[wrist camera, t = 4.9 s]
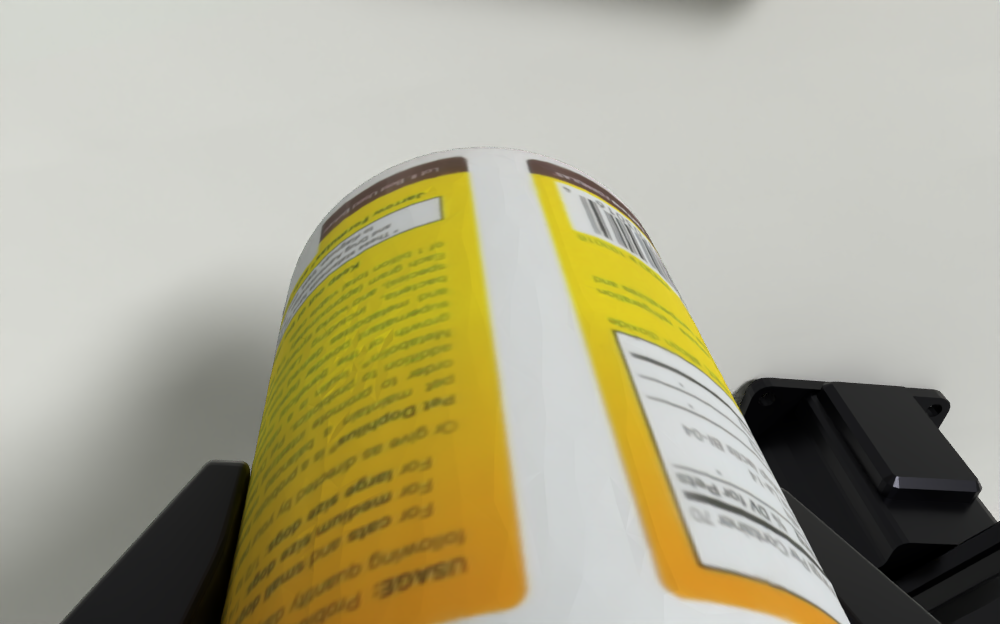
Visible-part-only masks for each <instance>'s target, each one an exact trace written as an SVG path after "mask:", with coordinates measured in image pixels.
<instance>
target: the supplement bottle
mask: <svg viewBox="0 0 1000 624" xmlns="http://www.w3.org/2000/svg"><path fill="white" fill-rule="evenodd" d="M220 624H850V622H849V620H848V618H847V616H846V614H845V612H844V610H843V608H842V606H841V605H840V603H839V600H838V598H837V596H836V593H835V591H834V589H833V586H832V584H831V582H830V581H829V579H828V578H827V576H826V575H825V573H824V572H823V570H822V568H821V566H820V564H819V562H818V560H817V558H816V556H815V554H814V552H813V550H812V548H811V546H810V544H809V542H808V540H807V538H806V536H805V535H804V533H803V531H802V529H801V527H800V525H799V523H798V521H797V519H796V517H795V516H794V514H793V512H792V510H791V508H790V506H789V504H788V502H787V500H786V498H785V496H784V495H783V493H782V491H781V489H780V487H779V485H778V483H777V481H776V479H775V477H774V475H773V473H772V471H771V469H770V468H769V466H768V464H767V462H766V460H765V458H764V456H763V454H762V452H761V450H760V448H759V446H758V444H757V443H756V441H755V439H754V437H753V435H752V433H751V431H750V429H749V427H748V425H747V423H746V421H745V419H744V417H743V415H742V413H741V411H740V409H739V407H738V406H737V404H736V402H735V400H734V398H733V396H732V394H731V392H730V390H729V389H728V387H727V385H726V383H725V381H724V379H723V377H722V375H721V373H720V371H719V370H718V368H717V366H716V364H715V362H714V360H713V358H712V356H711V355H710V353H709V351H708V349H707V347H706V345H705V343H704V341H703V339H702V337H701V335H700V333H699V331H698V329H697V327H696V325H695V323H694V321H693V320H692V318H691V316H690V314H689V311H688V309H687V307H686V305H685V303H684V301H683V300H682V298H681V296H680V294H679V292H678V290H677V289H676V287H675V285H674V283H673V281H672V279H671V277H670V275H669V274H668V271H667V269H666V268H665V266H664V264H663V262H662V260H661V258H660V256H659V254H658V252H657V251H656V249H655V247H654V245H653V243H652V241H651V240H650V238H649V236H648V234H647V233H646V231H645V230H644V228H643V227H642V225H641V223H640V222H639V220H638V219H637V218H636V217H635V215H634V214H633V213H632V212H631V210H630V209H629V208H628V207H627V206H626V205H625V204H624V203H623V202H622V201H621V200H620V199H619V198H618V197H617V196H616V195H615V194H614V193H613V192H611V191H610V190H609V189H608V188H607V187H605V186H604V185H602V184H601V183H600V182H598V181H597V180H595V179H593V178H592V177H590V176H589V175H587V174H586V173H584V172H583V171H581V170H579V169H577V168H574V167H572V166H570V165H568V164H566V163H563V162H561V161H558V160H556V159H553V158H550V157H547V156H543V155H540V154H537V153H532V152H528V151H523V150H516V149H509V148H498V147H472V148H458V149H452V150H446V151H441V152H435V153H431V154H427V155H423V156H420V157H416V158H414V159H411V160H409V161H406V162H404V163H401V164H399V165H396V166H393V167H391V168H389V169H387V170H385V171H383V172H381V173H380V174H378V175H376V176H374V177H372V178H371V179H369V180H368V181H366V182H365V183H363V184H362V185H360V186H359V187H357V188H356V189H355V190H353V191H352V192H351V193H349V194H348V195H347V196H345V197H344V198H343V199H342V200H341V201H340V202H339V203H338V204H337V205H336V206H335V207H334V208H333V209H332V210H331V211H330V212H329V213H328V214H327V215H326V216H325V218H324V219H323V220H322V221H321V223H320V224H319V225H318V226H317V228H316V229H315V231H314V232H313V234H312V235H311V237H310V239H309V240H308V242H307V243H306V245H305V247H304V249H303V251H302V253H301V255H300V257H299V259H298V262H297V265H296V267H295V270H294V273H293V276H292V278H291V282H290V286H289V291H288V295H287V299H286V304H285V308H284V311H283V317H282V322H281V327H280V332H279V337H278V342H277V348H276V353H275V358H274V363H273V368H272V373H271V377H270V382H269V387H268V392H267V397H266V403H265V408H264V412H263V417H262V422H261V427H260V431H259V436H258V442H257V447H256V452H255V457H254V460H253V464H252V470H251V476H250V481H249V486H248V491H247V496H246V500H245V505H244V510H243V515H242V520H241V525H240V530H239V535H238V540H237V544H236V549H235V554H234V558H233V563H232V569H231V574H230V578H229V583H228V588H227V594H226V599H225V604H224V608H223V612H222V616H221V623H220Z"/></svg>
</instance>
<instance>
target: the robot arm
mask: <svg viewBox="0 0 1000 624" xmlns="http://www.w3.org/2000/svg"><path fill="white" fill-rule="evenodd" d="M765 393H769V394H768V395H766V396H764V397H761V396H762V395H763V394H765ZM930 406H931V407H930ZM739 409H740V411H741V413H742V415H743V417H744V419H745V421H746V423H747V425H748V427H749V429H750V431H751V433H752V435H753V437H754V439H755V441H756V443H757V444H758V446H759V448H760V450H761V452H762V454H763V456H764V458H765V460H766V462H767V464H768V466H769V468H770V469H771V471H772V473H773V475H774V477H775V479H776V481H777V483H778V485H779V487H780V489H781V491H782V493H783V495H784V496H785V498H786V500H787V502H788V504H789V506H790V508H791V510H792V512H793V514H794V516H795V517H796V519H797V521H798V523H799V525H800V527H801V529H802V531H803V533H804V535H805V536H806V538H807V540H808V542H809V544H810V546H811V548H812V550H813V552H814V554H815V556H816V558H817V560H818V562H819V564H820V566H821V568H822V570H823V572H824V573H825V575H826V576H827V578H828V579H829V581H830V582H831V584H832V586H833V589H834V591H835V593H836V596H837V598H838V600H839V603H840V605H841V606H842V608H843V610H844V612H845V614H846V616H847V618H848V620H849V622H850V624H1000V521H999V522H997V521H996V520H995V518H994V517H993V516H992V515H991V513H990V512H989V511H988V509H987V508H986V507H985V505H984V504H983V503H982V502H981V500H980V499H979V498H978V495H979V493H980V492H981V490H982V487H981V484H980V482H979V481H978V479H977V477H976V476H975V475H974V473H973V472H972V471H971V470H970V468H969V467H968V466H967V465H966V463H965V462H964V461H963V460H962V458H961V457H960V456H959V454H958V453H957V452H956V451H955V449H954V448H953V447H952V446H951V444H950V443H949V442H948V440H947V439H946V438H945V437H944V435H943V434H942V433H941V432H940V430H939V429H938V428H939V427H940V425H941V423H942V422H943V420H944V418H945V417H946V415H947V413H948V412H949V409H950V402H949V401H948V400H947V399H946V398H945V396H944V395H943V394H942V393H941V392H940V391H937V390H932V389H918V388H905V387H901V386H887V385H873V384H860V383H846V382H822V381H808V380H794V379H780V378H761V379H758V380H756V381H754V382H753V383H752V384H750V386H749V387H748V389H747V390H746V393H745V395H744V398H743V400H742V402H741V405H740V407H739ZM249 481H250V467H249V465H248V464H247V463H246V462H243V461H226V460H212V461H209V462H208V463H206V464H205V465H204V466H203V467H202V468H201V469H200V471H199V472H198V473H197V474H196V475H195V476H194V477H193V478H192V479H191V480H190V482H189V483H188V484H187V485H186V486H185V487H184V488H183V489H182V490H181V491H180V492H179V494H178V495H177V496H176V497H175V498H174V499H173V500H172V501H171V502H170V503H169V505H168V506H167V507H166V508H165V509H164V510H163V511H162V512H161V513H160V514H159V515H158V517H157V518H156V519H155V520H154V521H153V522H152V523H151V524H150V525H149V526H148V528H147V529H146V530H145V531H144V532H143V533H142V534H141V535H140V536H139V537H138V538H137V540H136V541H135V542H134V543H133V544H132V545H131V546H130V547H129V548H128V549H127V551H126V552H125V553H124V554H123V555H122V556H121V557H120V558H119V559H118V560H117V561H116V563H115V564H114V565H113V566H112V567H111V568H110V569H109V570H108V571H107V572H106V574H105V575H104V576H103V577H102V578H101V579H100V580H99V581H98V582H97V583H96V584H95V586H94V587H93V588H92V589H91V590H90V591H89V592H88V593H87V594H86V595H85V597H84V598H83V599H82V600H81V601H80V602H79V603H78V604H77V605H76V606H75V607H74V609H73V610H72V611H71V612H70V613H69V614H68V615H67V616H66V617H65V618H64V620H63V621H62V622H61V623H60V624H220V623H221V616H222V612H223V608H224V604H225V599H226V594H227V588H228V583H229V578H230V574H231V569H232V563H233V558H234V554H235V549H236V544H237V540H238V535H239V530H240V525H241V520H242V515H243V510H244V505H245V500H246V496H247V491H248V486H249Z"/></svg>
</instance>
